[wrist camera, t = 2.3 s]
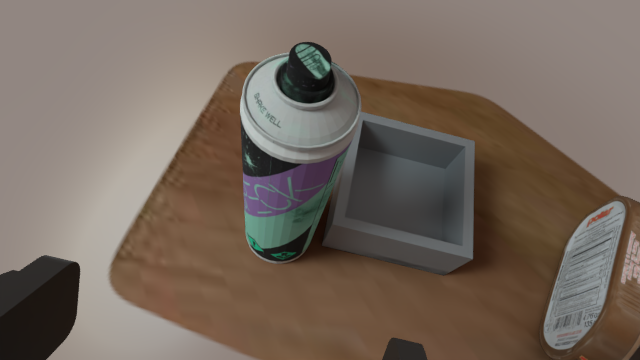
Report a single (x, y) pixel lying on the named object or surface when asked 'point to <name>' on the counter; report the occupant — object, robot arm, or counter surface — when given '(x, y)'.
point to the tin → (597, 288)
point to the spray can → (293, 146)
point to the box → (404, 196)
